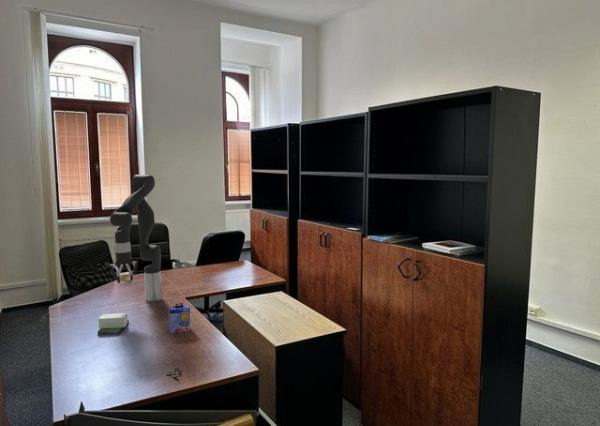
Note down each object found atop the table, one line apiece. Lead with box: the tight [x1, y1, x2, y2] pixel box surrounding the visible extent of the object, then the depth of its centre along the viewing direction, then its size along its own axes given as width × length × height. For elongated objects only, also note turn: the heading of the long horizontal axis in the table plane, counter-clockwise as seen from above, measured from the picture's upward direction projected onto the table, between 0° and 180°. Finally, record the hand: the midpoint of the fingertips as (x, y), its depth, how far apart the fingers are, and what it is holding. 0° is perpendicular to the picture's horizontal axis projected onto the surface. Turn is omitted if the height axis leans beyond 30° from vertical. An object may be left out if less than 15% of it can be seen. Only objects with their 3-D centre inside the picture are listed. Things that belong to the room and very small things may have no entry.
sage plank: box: [98, 312, 129, 330], centre depth 211 cm, size 12×6×5 cm, turn 100°
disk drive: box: [97, 319, 130, 336], centre depth 211 cm, size 10×3×15 cm
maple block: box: [119, 271, 132, 286], centre depth 222 cm, size 5×5×5 cm
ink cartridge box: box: [168, 302, 191, 334], centre depth 209 cm, size 10×6×14 cm, turn 113°
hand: (124, 282), depth 223 cm, fingers closed on maple block, 5 cm apart
